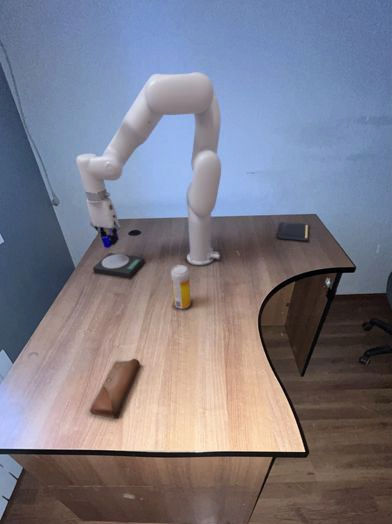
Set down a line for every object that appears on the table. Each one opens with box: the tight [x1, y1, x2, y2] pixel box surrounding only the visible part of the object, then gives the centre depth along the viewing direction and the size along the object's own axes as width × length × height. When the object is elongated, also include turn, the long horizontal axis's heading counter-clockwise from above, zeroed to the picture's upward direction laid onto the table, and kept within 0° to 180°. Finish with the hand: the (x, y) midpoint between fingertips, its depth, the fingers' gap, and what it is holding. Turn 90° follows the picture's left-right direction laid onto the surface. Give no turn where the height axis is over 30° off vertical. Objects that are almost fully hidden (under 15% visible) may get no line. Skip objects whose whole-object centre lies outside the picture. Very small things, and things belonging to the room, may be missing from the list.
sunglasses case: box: [89, 358, 140, 419], centre depth 74 cm, size 18×7×7 cm
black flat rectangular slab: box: [277, 221, 310, 243], centre depth 138 cm, size 20×2×15 cm
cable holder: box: [101, 230, 119, 249], centre depth 111 cm, size 8×4×4 cm, turn 161°
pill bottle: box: [170, 264, 191, 310], centre depth 94 cm, size 6×6×15 cm
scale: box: [92, 252, 146, 279], centre depth 119 cm, size 18×14×3 cm
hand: (110, 242), depth 112 cm, fingers closed on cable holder, 3 cm apart
